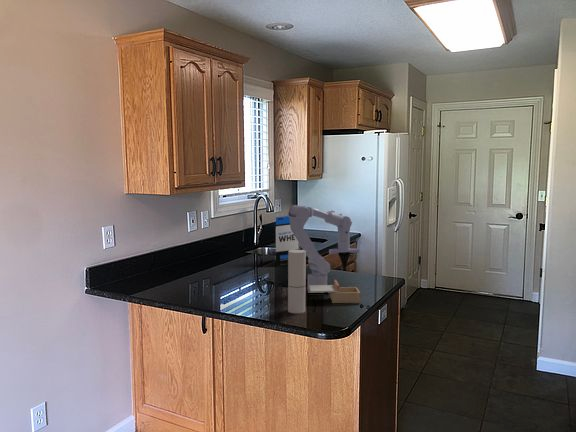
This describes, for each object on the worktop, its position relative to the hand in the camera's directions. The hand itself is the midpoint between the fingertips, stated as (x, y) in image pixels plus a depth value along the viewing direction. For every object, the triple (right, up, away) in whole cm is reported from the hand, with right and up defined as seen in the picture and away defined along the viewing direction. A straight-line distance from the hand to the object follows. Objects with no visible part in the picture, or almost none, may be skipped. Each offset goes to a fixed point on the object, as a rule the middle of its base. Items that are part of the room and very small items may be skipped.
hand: (344, 267), depth 234 cm
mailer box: (-2, -13, -20) cm, 24 cm away
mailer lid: (-12, -7, -21) cm, 25 cm away
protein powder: (-27, -5, +61) cm, 67 cm away
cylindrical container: (-24, -14, -36) cm, 45 cm away
